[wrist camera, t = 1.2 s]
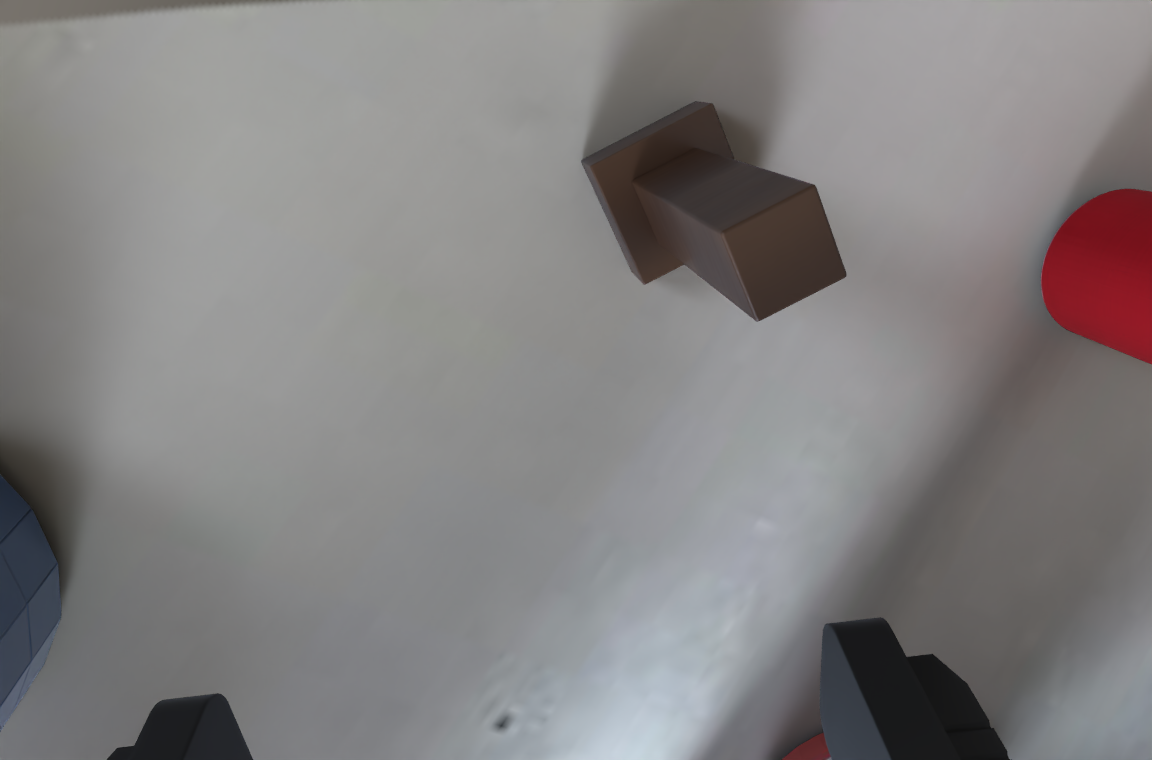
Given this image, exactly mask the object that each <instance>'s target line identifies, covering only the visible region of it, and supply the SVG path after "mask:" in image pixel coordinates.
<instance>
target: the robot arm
mask: <svg viewBox="0 0 1152 760" xmlns="http://www.w3.org/2000/svg"><path fill="white" fill-rule="evenodd" d="M820 715H821V722H822V727H823V732H824V737H825V740H826V744H827V747H828V751H829V753H830V756H831V759H832V760H1010V759H1009V758H1008V755H1007V750H1006V749H1005V747H1004V745H1003V744H1002V742H1001V740H1000V738H999V737H998V735H997V733H996V732H995V730H994V728H991V727H990V725H989V720H988V718H987V716H986V715H985V713H984V711H983V710H982V708H981V706H980V705H979V703H978V701H977V699H976V698H975V696H974V694H973V693H972V691H971V689H970V688H969V686H968V684H967V683H966V682H965V681H963V680H962V679H961V678H960V677H959V676H958V675H956V674H955V673H954V672H953V671H952V670H951V669H949V668H948V667H947V666H946V665H945V664H944V663H942V662H941V661H940V660H939V659H938V658H937V657H935V656H934V655H933V654H928V655H920V656H911V657H906V655H905V653H904V652H903V650H902V648H901V646H900V644H899V642H898V640H897V638H896V636H895V634H894V633H893V631H892V629H891V627H890V625H889V624H888V623H887V621H886V620H885V619H884V618H881V617H880V618H871V619H863V620H854V621H846V622H837V623H829V624H825V626H824V629H823V637H822V659H821V681H820ZM107 760H253V759H252V756H251V754H250V752H249V749H248V747H247V745H246V742H245V740H244V738H243V736H242V733H241V731H240V729H239V726H238V724H237V722H236V719H235V717H234V715H233V712H232V710H231V708H230V705H229V703H228V701H227V699H226V698H225V697H224V696H223V695H222V694H210V695H201V696H193V697H184V698H176V699H167V700H162V701H160V702H158V703H157V704H156V705H155V706H154V708H153V709H152V711H151V712H150V714H149V716H148V718H147V720H146V722H145V724H144V727H143V729H142V731H141V733H140V735H139V737H138V739H137V741H136V743H135V745H134V746H129V747H121V748H117V749H116V750H115V751H114V752H113V753H112V754H111V755H110V756H109V758H108V759H107Z"/></svg>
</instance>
